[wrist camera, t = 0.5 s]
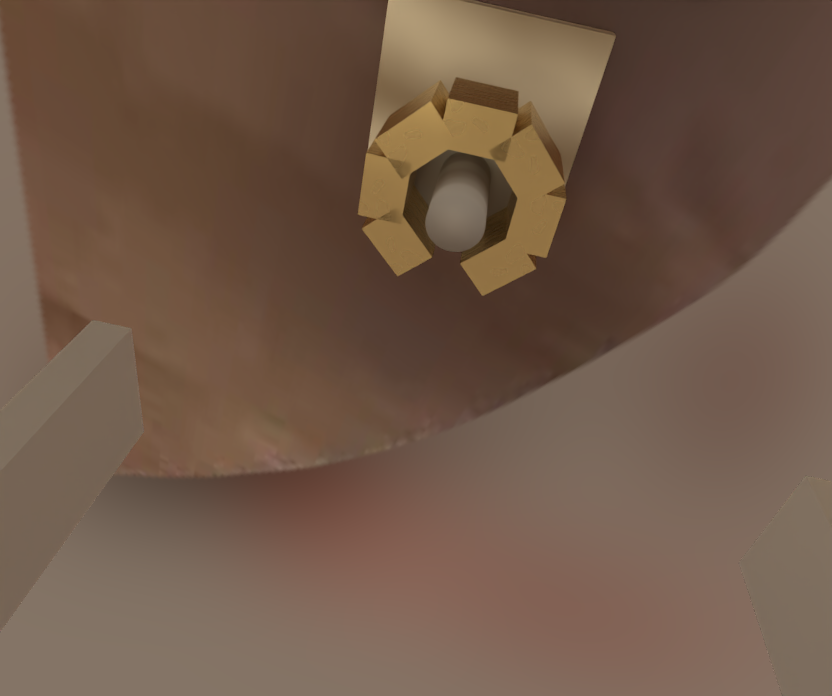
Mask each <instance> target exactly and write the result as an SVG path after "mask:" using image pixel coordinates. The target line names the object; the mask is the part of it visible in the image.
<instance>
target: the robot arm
mask: <svg viewBox="0 0 832 696" xmlns="http://www.w3.org/2000/svg"><path fill="white" fill-rule="evenodd" d="M143 432H144V429H143V421H142V412H141V404H140V396H139V387H138V379H137V371H136V362H135V354H134V346H133V337H132V329H131V328H127V327H123V326H118V325H113V324H109V323H104V322H100V321H95V320H92V321H91V322H90V323H89V324H88V325H87V326H86V327H85V328H84V329H83V330H82V331H81V332H80V333H79V334H78V335H77V336H76V337H75V338H74V339H73V340H72V341H71V342H70V343H69V344H68V345H66V346H65V347H64V348H63V349H62V350H61V351H60V352H59V353H58V354H57V355H56V356H55V357H54V358H53V359H52V360H51V361H50V362H49V363H48V364H47V365H46V366H45V367H44V368H43V369H42V370H41V371H40V372H39V373H38V374H37V375H36V376H35V377H34V378H33V379H32V380H31V381H29V382H28V383H27V384H26V385H25V386H24V387H23V388H22V389H21V390H20V391H19V392H18V393H17V394H16V395H15V396H14V397H13V398H12V399H11V400H10V401H9V402H8V403H7V404H6V405H5V406H4V407H3V408H2V409H1V410H0V632H1V630H2V629H3V627H4V626H5V625H6V623H7V622H8V621H9V619H10V618H11V616H12V615H13V614H14V612H15V611H16V609H17V608H18V607H19V605H20V604H21V602H22V601H23V600H24V598H25V597H26V595H27V594H28V593H29V591H30V590H31V589H32V587H33V586H34V584H35V583H36V582H37V580H38V579H39V577H40V576H41V574H42V573H43V572H44V570H45V569H46V568H47V566H48V565H49V563H50V562H51V561H52V559H53V558H54V556H55V555H56V554H57V552H58V551H59V549H60V548H61V547H62V545H63V544H64V542H65V541H66V540H67V538H68V537H69V535H70V534H71V533H72V531H73V530H74V528H75V527H76V526H77V524H78V523H79V521H80V520H81V519H82V517H83V516H84V514H85V513H86V512H87V510H88V509H89V507H90V506H91V505H92V503H93V502H94V500H95V499H96V498H97V496H98V495H99V493H100V492H101V491H102V489H103V488H104V486H105V485H106V484H107V482H108V481H109V479H110V478H111V477H112V475H113V474H114V473H115V471H116V470H117V468H118V467H119V466H120V464H121V463H122V461H123V460H124V459H125V457H126V456H127V454H128V453H129V452H130V450H131V449H132V447H133V446H134V445H135V443H136V442H137V440H138V439H139V438H140V436H141V435H142V433H143ZM739 566H740V569H741V572H742V575H743V578H744V581H745V584H746V587H747V590H748V593H749V596H750V599H751V602H752V605H753V608H754V612H755V615H756V618H757V621H758V623H759V626H760V630H761V633H762V636H763V639H764V642H765V645H766V648H767V651H768V654H769V657H770V660H771V663H772V666H773V669H774V672H775V675H776V679H777V682H778V685H779V688H780V691H781V694H782V696H832V481H828V480H824V479H819V478H815V477H810V476H805V477H804V479H803V480H802V481H801V483H800V484H799V485H798V486H797V487H796V489H795V490H794V491H793V493H792V494H791V495H790V497H789V498H788V499H787V501H786V502H785V503H784V504H783V506H782V507H781V508H780V510H779V511H778V512H777V513H776V515H775V516H774V517H773V519H772V520H771V521H770V523H769V524H768V525H767V527H766V528H765V529H764V530H763V532H762V533H761V534H760V536H759V537H758V538H757V539H756V541H755V542H754V543H753V545H752V546H751V547H750V549H749V550H748V551H747V553H746V554H745V555H744V557H743V558H742V559H741V560H740V562H739Z"/></svg>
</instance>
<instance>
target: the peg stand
mask: <svg viewBox="0 0 832 696" xmlns="http://www.w3.org/2000/svg"><path fill="white" fill-rule="evenodd" d="M615 38H616V35H615V34H614V32H610V31H606V30H602V29H597V28H593V27H589V26H584V25H580V24H575V23H571V22H567V21H562V20H558V19H553V18H549V17H545V16H540V15H536V14H531V13H527V12H523V11H518V10H514V9H510V8H505V7H501V6H496V5H492V4H488V3H483V2H479V1H474V0H388V7H387V14H386V22H385V29H384V36H383V43H382V51H381V58H380V65H379V72H378V79H377V87H376V94H375V101H374V108H373V116H372V123H371V130H370V137H369V144H368V149H369V148H370V146H371V145H372V143H373V141H374V140H375V138H376V136H377V135H378V133H379V131H380V130H381V128H382V127H383V125H384V123H385V122H386V120H387V119H388V117H389V115H391V114H392V113H394V112H395V111H396V110H398V109H399V108H401V107H402V106H404V105H405V104H407V103H408V102H409V101H411V100H412V99H414V98H415V97H417V96H418V95H420V94H421V93H422V92H424V91H425V90H427V89H428V88H430V87H431V86H433V85H434V84H435V83H437V82H438V81H440V80H441V81H442V83H443V84H444V86H445V88H446V89H447V91H448V93H450V91H451V88H452V86H453V83H454V80H455V78H456V77H458V78H463V79H467V80H472V81H476V82H480V83H485V84H489V85H493V86H498V87H502V88H507V89H511V90H515V91H519V96H518V108H520V107H521V106H523V105H525V104H526V103H528V102H529V101H531V102H532V103H533V105H534V107H535V109H536V111H537V112H538V114H539V116H540V118H541V120H542V121H543V123H544V125H545V127H546V129H547V130H548V132H549V134H550V136H551V138H552V139H553V141H554V143H555V145H556V147H557V148H558V150H559V152H560V154H561V159H562V165H563V172H564V179H565V184H564V185H565V186H566V183H567V180H568V177H569V174H570V171H571V168H572V165H573V162H574V159H575V156H576V153H577V150H578V147H579V144H580V141H581V138H582V135H583V133H584V130H585V127H586V124H587V121H588V118H589V115H590V112H591V109H592V106H593V103H594V100H595V97H596V94H597V91H598V88H599V85H600V82H601V79H602V76H603V73H604V70H605V67H606V64H607V61H608V58H609V55H610V52H611V50H612V47H613V44H614V41H615ZM414 186H415V187H416V188H417V190H418V191H419V193H420V194H421V196H422V197H423V199H424V200H425V202H426V203H427V205H428V206H429V209H428V212H427V216H426V220H425V226H426V231H427V234H428V236H429V237H430V239H431V240H432V242H433V243H434V244H436V245H437V246H438V247H440V248H442V249H444V250H447V251H451V252H461V251H465V250H468V249H470V248H472V247H474V246H475V245H476V244H477V243H478V242H479V241H480V240H481V238H482V236H483V234H484V231H485V225H486V218H488V217H490V216H491V215H493V214H495V213H497V212H498V211H500V210H502V209H504V208H506V207H507V206H508V203H509V199H510V196H511V192H512V188H511V187H510V185H509V183H508V182H507V180H506V178H505V177H504V175H503V173H502V172H501V170H500V168H499V167H498V165H497V164H496V162H495V160H492V159H488V158H484V157H479V156H475V155H471V154H466V153H462V152H458V151H453V150H449V149H448V150H447V151H445V152H443V153H442V154H440V155H439V156H437V157H436V158H434V159H432V160H431V161H429V162H428V163H426V164H425V165H423V166H421V167H420V168H418V169H417V172H416V178H415V183H414Z"/></svg>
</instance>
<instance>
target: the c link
mask: <svg viewBox="0 0 832 696" xmlns="http://www.w3.org/2000/svg"><path fill="white" fill-rule="evenodd" d="M518 96H519V91H515V90H511V89H507V88H502V87H498V86H493V85H489V84H485V83H480V82H476V81H472V80H467V79H463V78H458V77H456V78H455V80H454V83H453V86H452V88H451V91H450V93H448V91H447V89H446V88H445V86H444V84H443V83H442V81H441V80H440V81H438V82H437V83H435V84H434V85H433V86H431V87H430V88H428V89H427V90H425V91H424V92H422V93H421V94H420V95H418V96H417V97H415V98H414V99H412V100H411V101H409V102H408V103H407V104H405V105H404V106H402V107H401V108H399V109H398V110H396V111H395V112H394V113H392V114H391V115H389V117H388V119H387V120H386V122H385V123H384V125H383V127H382V128H381V130H380V131H379V133H378V135H377V136H376V138H375V140H374V141H373V143H372V145H371V146H370V148H369V149H368V151H367V153H366V158H365V166H364V173H363V180H362V187H361V195H360V202H359V209H358V215H362V216H366V217H367V219H366V221H365V223H364V225H363V227H362V230H363V231H364V232H365V234H366V235H367V236H368V238H369V239H370V240H371V242H372V243H373V244H374V246H375V247H376V248H377V250H378V251H379V252H380V254H381V255H382V256H383V258H384V259H385V260H386V262H387V263H388V264H389V266H390V267H391V268H392V270H393V271H394V272H395V274H396V275H397V276H399V275H401V274H403V273H405V272H407V271H408V270H410V269H412V268H414V267H416V266H417V265H419V264H421V263H423V262H425V261H426V260H428V259H430V258H432V256H433V252H434V248H435V245H436V244H434V243H433V242H432V240H431V239H430V237H429V236H428V234H427V231H426V226H425V220H426V216H427V212H428V209H429V206H428V205H427V203H426V202H425V200H424V199H423V197H422V196H421V194H420V193H419V191H418V190H417V188H416V187H415V186H414V183H415V178H416V172H417V169H418V168H420V167H421V166H423V165H425V164H426V163H428V162H429V161H431V160H432V159H434V158H436V157H437V156H439V155H440V154H442V153H443V152H445V151H447V150H448V149H449V150H453V151H458V152H462V153H466V154H471V155H475V156H479V157H484V158H488V159H492V160H495V162H496V164H497V165H498V167H499V168H500V170H501V172H502V173H503V175H504V177H505V178H506V180H507V182H508V183H509V185H510V187H511V188H512V192H511V196H510V199H509V203H508V206H507V207H506V208H504V209H502V210H500V211H498V212H497V213H495V214H493V215H491V216H490V217H488V218H486V225H485V231H484V234H483V236H482V238H481V240H480V241H479V242H478V243H477V244H476V245H475V246H474V247H472V248H470V249H468V250H465V251H462V256H461V261H460V264H461V266H462V267H463V269H464V270H465V271H466V273H467V274H468V276H469V277H470V279H471V280H472V282H473V283H474V285H475V286H476V287H477V289H478V290H479V292H480V293H481V295H482V296H484V295H486V294H488V293H490V292H492V291H494V290H495V289H497V288H499V287H501V286H503V285H505V284H507V283H509V282H511V281H513V280H515V279H517V278H519V277H521V276H523V275H525V274H527V273H529V272H531V271H533V270H535V269H536V256H540V257H544V258H546V257H547V254H548V251H549V249H550V246H551V243H552V240H553V237H554V234H555V231H556V228H557V225H558V222H559V219H560V216H561V214H562V211H563V208H564V205H565V202H566V192H565V185H564V184H565V179H564V172H563V165H562V159H561V154H560V152H559V150H558V148H557V147H556V145H555V143H554V141H553V139H552V138H551V136H550V134H549V132H548V130H547V129H546V127H545V125H544V123H543V121H542V120H541V118H540V116H539V114H538V112H537V111H536V109H535V107H534V105H533V103H532V102H531V101H529V102H528V103H526V104H525V105H523V106H521V107H520V108H518Z"/></svg>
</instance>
